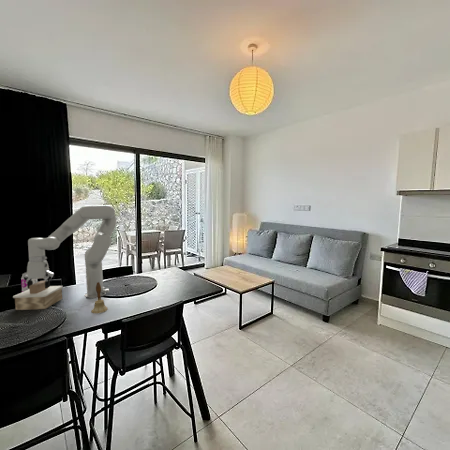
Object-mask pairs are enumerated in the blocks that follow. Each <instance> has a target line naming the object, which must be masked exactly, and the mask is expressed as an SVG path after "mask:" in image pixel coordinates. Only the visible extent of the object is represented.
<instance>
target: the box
mask: <svg viewBox="0 0 450 450" xmlns="http://www.w3.org/2000/svg"><path fill="white" fill-rule="evenodd" d="M61 300H63V288H61V289H59V290H57V291H55V292H53V293H51V294H49V295H48V296H46V297H28V298H14V304H15V305H14V306H15V311H24V310H26V311H27V310H46V309H48V308H49V307H51V306H53V305H54V304H56V303H57V302H59V301H61Z"/></svg>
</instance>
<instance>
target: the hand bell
mask: <svg viewBox="0 0 450 450" xmlns="http://www.w3.org/2000/svg"><path fill="white" fill-rule="evenodd" d="M96 292H97V298H96V300H95V301H94V306H93V308H92V309H91V311H90V313H92V314H94V315H95V314H96V315H97V314H102V313H105V312H107V311H108V310H109V309H108V307H107V306H106V305H105V301H104V300H103V299H102V298H101V297H102V296H101V295H100V293H101V285H100V283H99V282H97V285H96Z"/></svg>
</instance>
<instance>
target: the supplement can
mask: <svg viewBox="0 0 450 450" xmlns="http://www.w3.org/2000/svg"><path fill="white" fill-rule="evenodd" d="M20 279H21V281H20V282H21V293H22V292H24V291H26V290H28V286H27V282H26V280H25V279H24V278H23V276H21V278H20ZM31 281H33V284H35V283H37V282H39V281H38V279H32V280H31Z"/></svg>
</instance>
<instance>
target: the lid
mask: <svg viewBox="0 0 450 450" xmlns="http://www.w3.org/2000/svg"><path fill="white" fill-rule="evenodd" d="M61 288H62V289H63V288H64V286H63V285H50V287H48V288H45V280H40V281H38V282H37V283H35V284H33V285H30V286H29V289H28V290H26V291H24V292H22V291H21V292H20V293H17V294H15V295H13V296H12V299H15V298H28V297H46V296H48V295H49V294H51V293H53V292H55V291H57V290H59V289H61Z"/></svg>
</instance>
